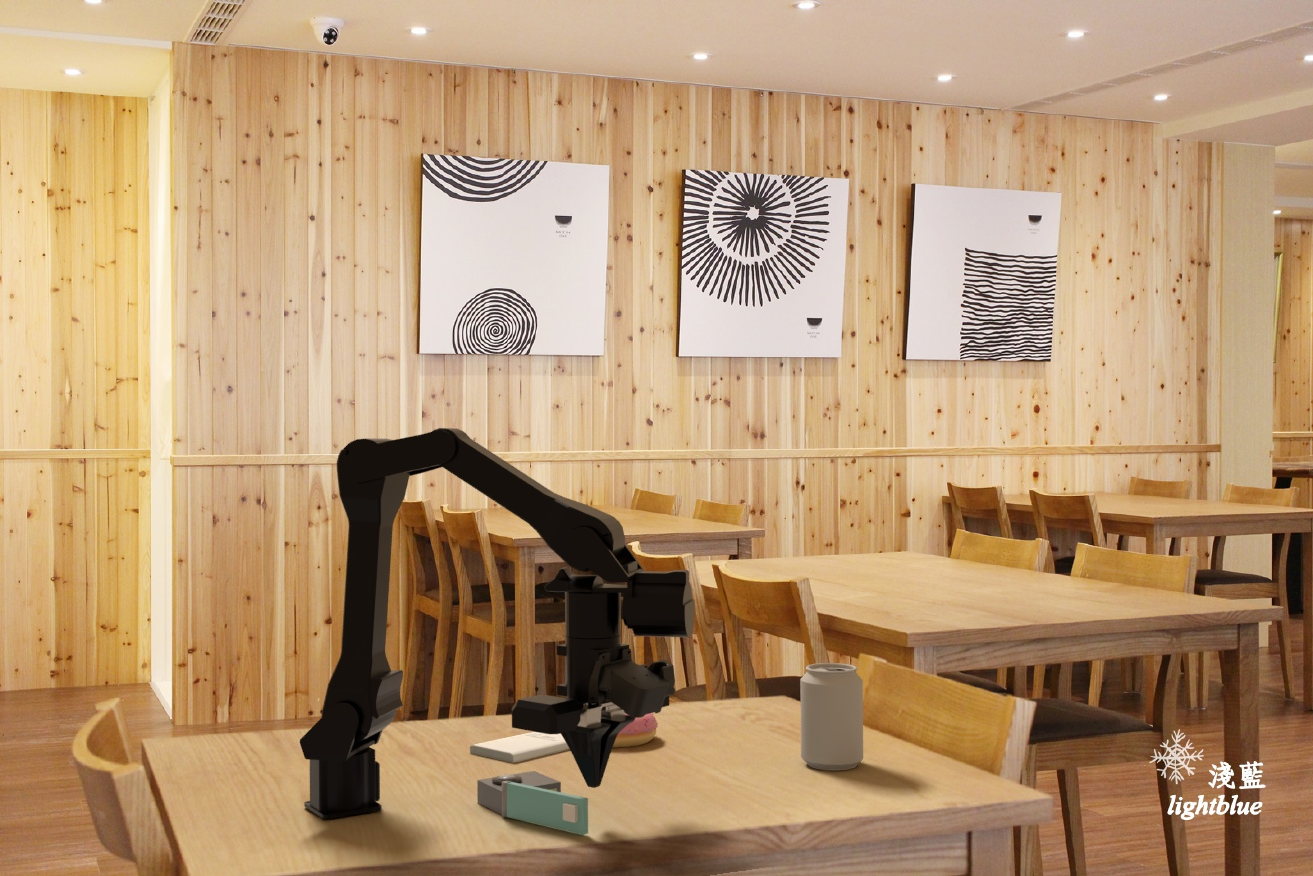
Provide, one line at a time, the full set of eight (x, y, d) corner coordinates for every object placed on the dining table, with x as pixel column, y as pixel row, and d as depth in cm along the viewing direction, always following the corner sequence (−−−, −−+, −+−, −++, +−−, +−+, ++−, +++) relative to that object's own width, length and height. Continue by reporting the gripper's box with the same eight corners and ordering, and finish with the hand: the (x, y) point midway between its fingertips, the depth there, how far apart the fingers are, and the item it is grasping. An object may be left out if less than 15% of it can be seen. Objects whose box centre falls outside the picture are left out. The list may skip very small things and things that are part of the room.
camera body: (502, 815, 140) (502, 787, 140) (477, 803, 145) (477, 775, 145) (560, 805, 144) (560, 777, 144) (534, 793, 149) (534, 766, 149)
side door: (497, 816, 139) (497, 783, 139) (506, 813, 140) (506, 780, 140) (580, 836, 132) (579, 800, 132) (589, 833, 133) (588, 797, 133)
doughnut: (656, 731, 182) (656, 701, 182) (659, 750, 171) (659, 717, 171) (576, 733, 181) (575, 702, 181) (573, 751, 170) (573, 719, 170)
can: (875, 764, 162) (874, 665, 162) (839, 775, 156) (838, 673, 156) (825, 754, 167) (824, 658, 167) (788, 765, 161) (787, 666, 162)
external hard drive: (469, 757, 169) (541, 740, 178) (513, 767, 164) (585, 749, 173) (469, 744, 169) (541, 728, 178) (513, 753, 164) (584, 736, 173)
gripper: (592, 654, 125) (593, 820, 125) (709, 631, 140) (710, 780, 140) (507, 643, 132) (508, 801, 132) (627, 623, 147) (628, 765, 147)
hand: (593, 786), depth 137 cm, fingers closed
